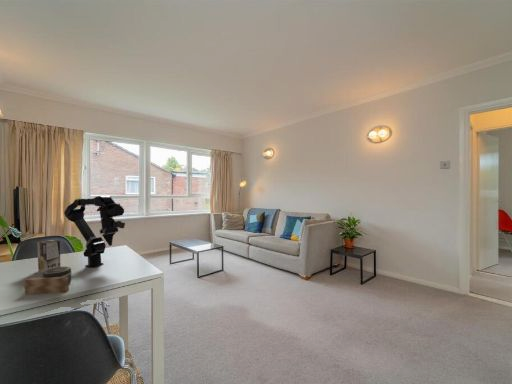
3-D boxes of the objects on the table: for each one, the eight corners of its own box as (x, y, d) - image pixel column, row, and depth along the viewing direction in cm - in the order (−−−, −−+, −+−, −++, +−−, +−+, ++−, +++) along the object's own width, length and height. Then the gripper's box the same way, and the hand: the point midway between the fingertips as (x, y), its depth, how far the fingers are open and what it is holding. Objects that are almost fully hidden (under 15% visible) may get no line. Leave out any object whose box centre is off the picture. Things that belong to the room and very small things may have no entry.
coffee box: (61, 269, 129) (60, 240, 129) (46, 273, 124) (46, 243, 123) (52, 267, 133) (51, 239, 133) (37, 271, 127) (36, 241, 127)
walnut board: (25, 293, 100) (24, 279, 100) (29, 291, 102) (28, 278, 102) (65, 292, 102) (65, 278, 102) (68, 290, 104) (68, 276, 104)
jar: (74, 285, 109) (74, 268, 109) (46, 293, 101) (45, 275, 101) (67, 280, 115) (67, 264, 115) (40, 287, 107) (39, 270, 107)
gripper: (126, 214, 131) (130, 242, 131) (119, 216, 145) (122, 241, 145) (103, 218, 124) (107, 247, 123) (97, 219, 138) (101, 246, 137)
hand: (110, 245), depth 132 cm, fingers closed
